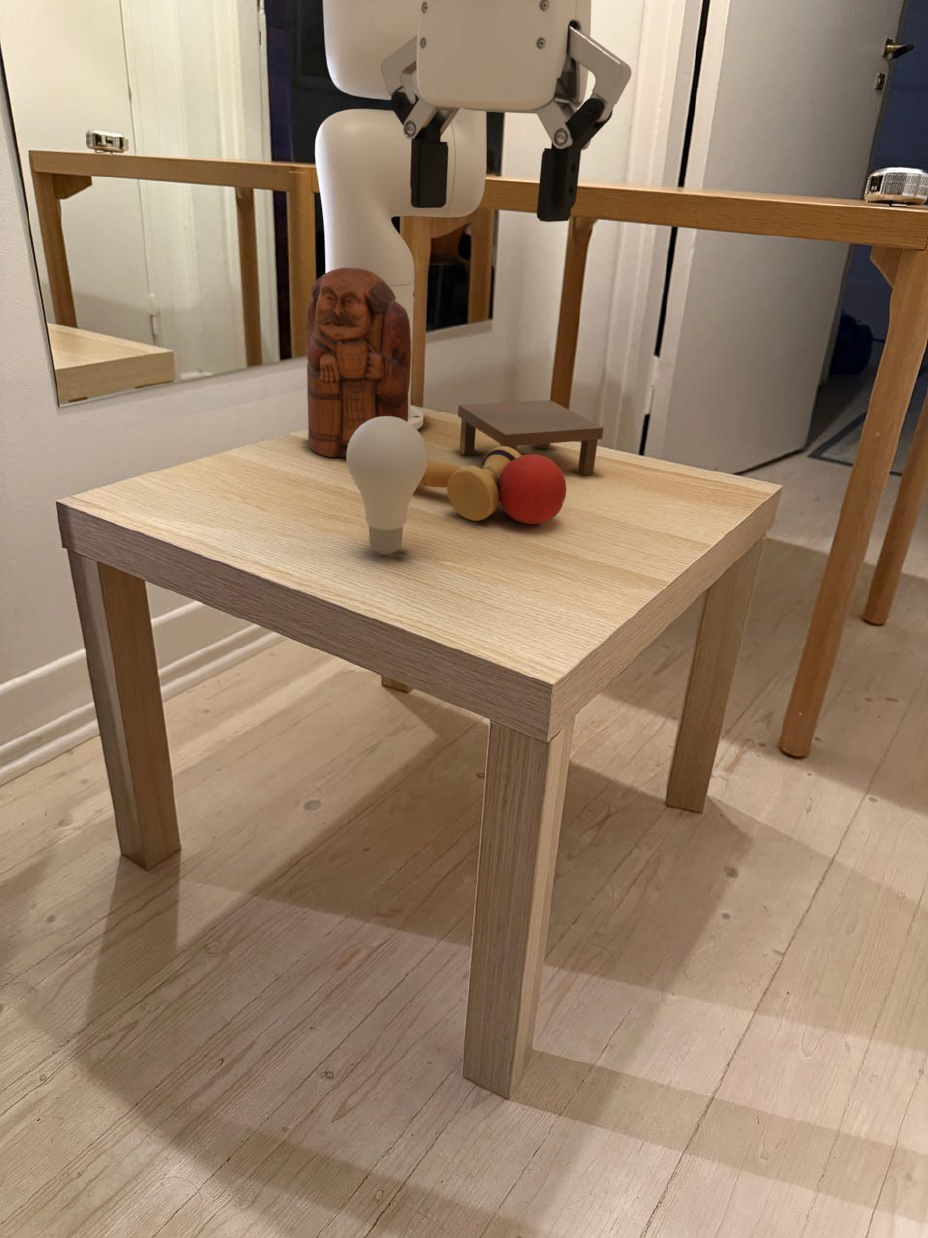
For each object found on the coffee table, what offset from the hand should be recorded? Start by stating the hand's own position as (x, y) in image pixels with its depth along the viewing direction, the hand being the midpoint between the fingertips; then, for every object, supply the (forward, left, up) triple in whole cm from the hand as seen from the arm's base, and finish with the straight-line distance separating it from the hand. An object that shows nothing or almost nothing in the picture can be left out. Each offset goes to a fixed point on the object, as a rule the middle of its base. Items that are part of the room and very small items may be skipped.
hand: (488, 213), depth 59 cm
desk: (-22, +17, -25) cm, 38 cm away
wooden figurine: (-30, +1, -26) cm, 40 cm away
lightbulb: (-4, -5, -26) cm, 26 cm away
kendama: (-12, +6, -26) cm, 29 cm away
